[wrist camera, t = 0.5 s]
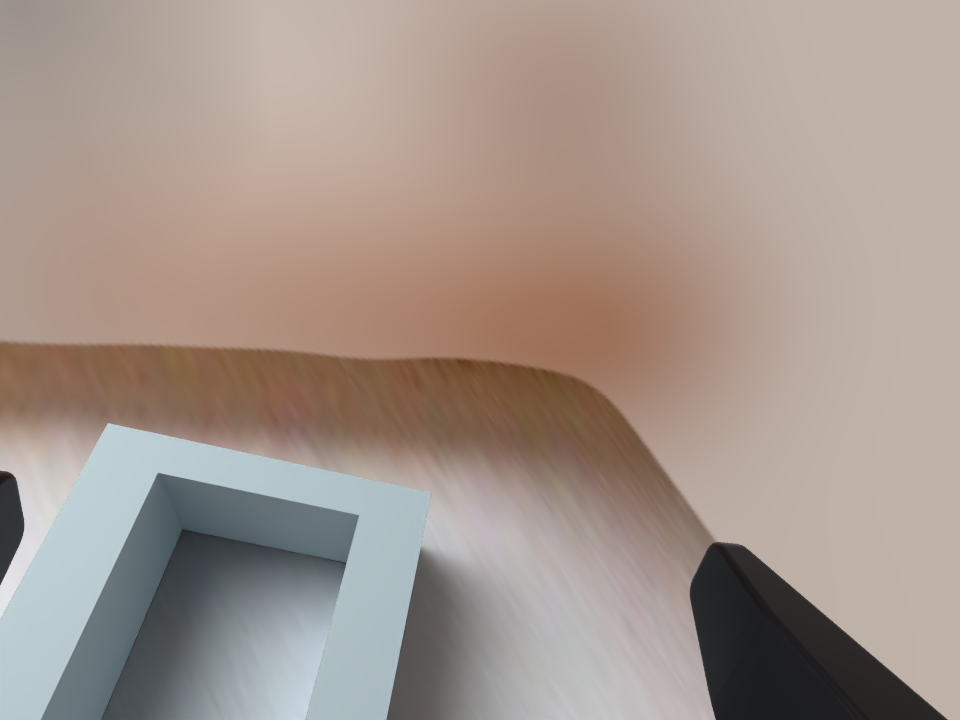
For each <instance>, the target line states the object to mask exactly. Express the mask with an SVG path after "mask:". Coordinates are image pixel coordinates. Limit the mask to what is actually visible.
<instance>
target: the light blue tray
mask: <svg viewBox="0 0 960 720" xmlns="http://www.w3.org/2000/svg"><path fill="white" fill-rule="evenodd" d="M430 498H431V493H430V492H425V491H421V490H416V489H411V488H407V487H402V486H397V485H393V484H388V483H383V482H379V481H374V480H369V479H365V478H360V477H355V476H351V475H346V474H342V473H337V472H332V471H328V470H323V469H318V468H314V467H309V466H304V465H300V464H295V463H290V462H286V461H281V460H276V459H272V458H267V457H263V456H258V455H253V454H249V453H244V452H239V451H235V450H230V449H225V448H221V447H216V446H211V445H207V444H202V443H198V442H193V441H188V440H184V439H179V438H174V437H170V436H165V435H160V434H156V433H151V432H146V431H142V430H137V429H132V428H128V427H123V426H119V425H114V424H109V423H108V424H107V426H106V428H105V430H104V432H103V433H102V435H101V437H100V439H99V441H98V442H97V444H96V446H95V448H94V450H93V452H92V453H91V455H90V457H89V459H88V461H87V462H86V464H85V466H84V468H83V470H82V471H81V473H80V475H79V477H78V479H77V481H76V482H75V484H74V486H73V488H72V490H71V491H70V493H69V495H68V497H67V499H66V500H65V502H64V504H63V506H62V508H61V510H60V511H59V513H58V515H57V517H56V519H55V520H54V522H53V524H52V526H51V528H50V529H49V531H48V533H47V535H46V537H45V539H44V540H43V542H42V544H41V546H40V548H39V549H38V551H37V553H36V555H35V557H34V558H33V560H32V562H31V564H30V566H29V568H28V569H27V571H26V573H25V575H24V577H23V578H22V580H21V582H20V584H19V586H18V587H17V589H16V591H15V593H14V595H13V597H12V598H11V600H10V602H9V604H8V606H7V607H6V609H5V611H4V613H3V615H2V616H1V618H0V720H101V719H102V717H103V714H104V712H105V710H106V707H107V705H108V703H109V700H110V698H111V696H112V693H113V691H114V689H115V686H116V684H117V682H118V679H119V677H120V675H121V672H122V670H123V668H124V665H125V663H126V661H127V658H128V656H129V653H130V651H131V649H132V646H133V644H134V642H135V639H136V637H137V635H138V632H139V630H140V628H141V625H142V623H143V621H144V618H145V616H146V614H147V611H148V609H149V607H150V604H151V602H152V600H153V597H154V595H155V593H156V590H157V588H158V585H159V583H160V581H161V578H162V576H163V574H164V571H165V569H166V567H167V564H168V562H169V560H170V557H171V555H172V553H173V550H174V548H175V546H176V543H177V541H178V539H179V536H180V534H181V532H182V529H184V530H189V531H194V532H198V533H203V534H208V535H213V536H218V537H223V538H228V539H232V540H237V541H242V542H247V543H252V544H257V545H262V546H267V547H271V548H276V549H281V550H286V551H291V552H296V553H301V554H305V555H310V556H315V557H320V558H325V559H330V560H335V561H340V562H344V563H346V567H345V571H344V575H343V579H342V582H341V586H340V590H339V594H338V598H337V601H336V605H335V609H334V613H333V617H332V620H331V624H330V628H329V632H328V636H327V639H326V643H325V647H324V651H323V655H322V658H321V662H320V666H319V670H318V674H317V677H316V681H315V685H314V689H313V693H312V696H311V700H310V704H309V708H308V712H307V715H306V719H305V720H386V719H387V714H388V709H389V704H390V699H391V694H392V689H393V684H394V679H395V674H396V669H397V664H398V659H399V654H400V649H401V644H402V639H403V634H404V629H405V624H406V619H407V614H408V609H409V604H410V599H411V594H412V588H413V583H414V578H415V573H416V568H417V563H418V558H419V553H420V548H421V543H422V538H423V533H424V528H425V523H426V518H427V513H428V508H429V503H430Z"/></svg>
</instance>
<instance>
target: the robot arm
mask: <svg viewBox="0 0 960 720" xmlns="http://www.w3.org/2000/svg"><path fill="white" fill-rule="evenodd" d="M23 532H24V517H23V512H22V507H21V501H20V496H19V491H18V485H17V481H16V478H15V477H14V476H13V474H11V473H9V472H6V471H0V585H1V583H2V581H3V578H4V576H5V574H6V572H7V570H8V568H9V566H10V564H11V562H12V559H13V557H14V555H15V553H16V551H17V549H18V547H19V545H20V542H21V540H22V536H23ZM690 600H691V606H692V611H693V616H694V621H695V626H696V631H697V636H698V641H699V646H700V651H701V656H702V661H703V666H704V671H705V676H706V681H707V686H708V691H709V695H710V700H711V704H712V708H713V711H714V715H715V718H716V720H947V719H946V718H945V717H944V716H943V715H942V714H940V713H939V712H938V711H937V710H936V709H934V708H933V707H932V706H931V705H930V704H929V703H928V702H926V701H925V700H924V699H923V698H922V697H920V696H919V695H918V694H917V693H916V692H914V691H913V690H912V689H911V688H910V687H909V686H907V685H906V684H905V683H904V682H903V681H902V680H900V679H899V678H898V677H897V676H896V675H895V674H894V673H892V672H891V671H890V670H889V669H888V668H886V667H885V666H884V665H883V664H882V663H881V662H879V661H878V660H877V659H876V658H875V657H874V656H872V655H871V654H870V653H869V652H868V651H866V650H865V649H864V648H863V647H862V646H861V645H859V644H858V643H857V642H856V641H855V640H854V639H852V638H851V637H850V636H849V635H848V634H847V633H845V632H844V631H843V630H842V629H841V628H840V627H838V626H837V625H836V624H835V623H834V622H833V621H831V620H830V619H829V618H828V617H826V615H824V614H823V613H822V612H821V611H820V610H818V609H817V608H816V607H815V606H814V605H813V604H811V603H810V602H809V601H808V600H807V599H805V598H804V597H803V596H802V595H801V594H800V593H799V592H797V591H796V590H795V589H794V588H792V587H791V586H790V585H789V584H788V583H787V582H786V581H784V580H783V579H782V578H781V577H780V576H778V575H777V574H776V573H775V572H774V571H773V570H772V569H770V568H769V567H768V566H767V565H766V564H765V563H763V562H762V561H761V560H760V559H759V558H758V557H756V556H755V555H754V554H753V553H752V552H750V551H749V550H748V549H747V548H746V547H744V546H742V545H739V544H732V543H722V542H716V543H713V544H712V545H710V546H709V548H708V549H707V551H706V553H705V555H704V557H703V559H702V561H701V563H700V565H699V568H698V570H697V572H696V574H695V576H694V578H693V580H692V582H691V587H690Z"/></svg>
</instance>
